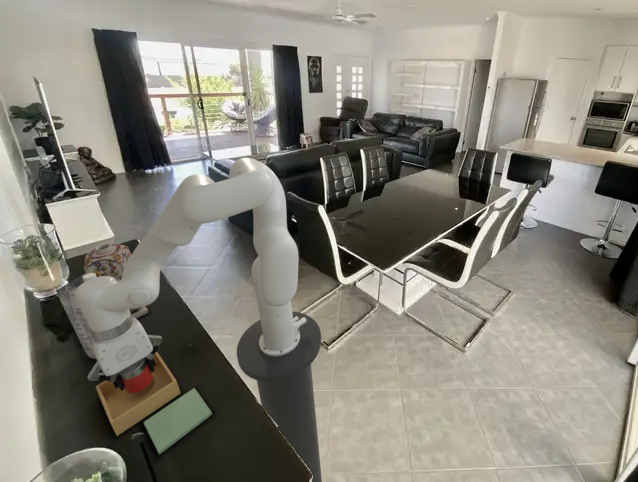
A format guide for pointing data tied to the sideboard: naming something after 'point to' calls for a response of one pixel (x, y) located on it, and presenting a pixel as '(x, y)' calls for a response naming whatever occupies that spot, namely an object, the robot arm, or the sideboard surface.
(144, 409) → the open wooden box
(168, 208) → the robot arm
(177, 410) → the mat
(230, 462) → the sideboard surface
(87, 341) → the juice carton
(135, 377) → the can
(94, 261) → the decorative jar
